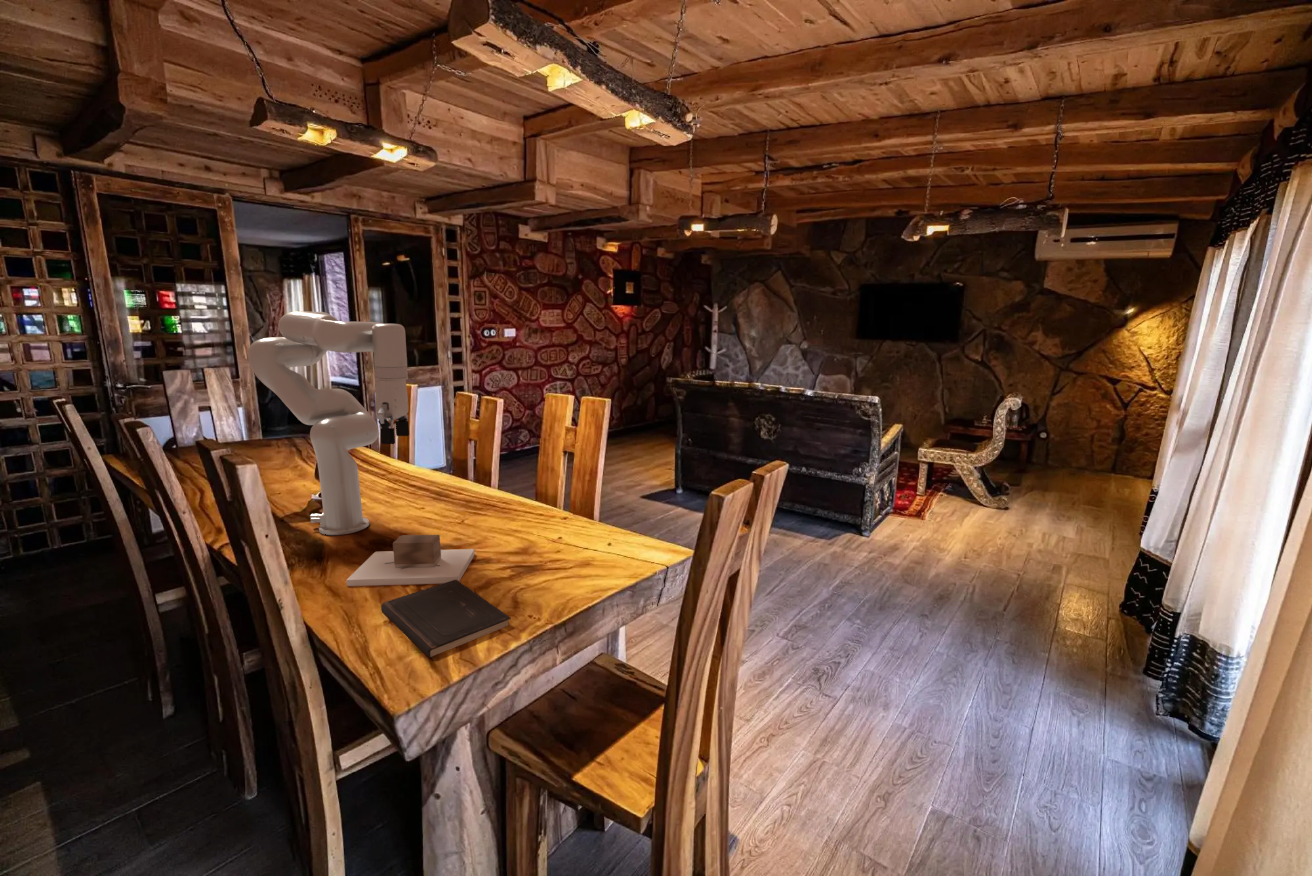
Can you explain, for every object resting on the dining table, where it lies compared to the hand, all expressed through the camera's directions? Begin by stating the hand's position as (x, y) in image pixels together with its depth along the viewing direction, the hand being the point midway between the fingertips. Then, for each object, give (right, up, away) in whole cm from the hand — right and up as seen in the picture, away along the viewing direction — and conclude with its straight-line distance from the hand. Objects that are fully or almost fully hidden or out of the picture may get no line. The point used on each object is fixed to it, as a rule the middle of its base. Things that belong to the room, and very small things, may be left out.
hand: (395, 439), depth 147 cm
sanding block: (+11, -29, -13) cm, 34 cm away
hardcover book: (+26, -36, -35) cm, 56 cm away
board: (+10, -31, -13) cm, 35 cm away
